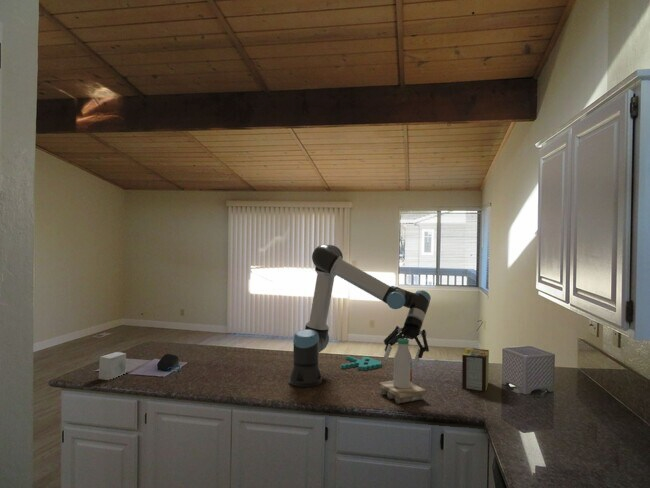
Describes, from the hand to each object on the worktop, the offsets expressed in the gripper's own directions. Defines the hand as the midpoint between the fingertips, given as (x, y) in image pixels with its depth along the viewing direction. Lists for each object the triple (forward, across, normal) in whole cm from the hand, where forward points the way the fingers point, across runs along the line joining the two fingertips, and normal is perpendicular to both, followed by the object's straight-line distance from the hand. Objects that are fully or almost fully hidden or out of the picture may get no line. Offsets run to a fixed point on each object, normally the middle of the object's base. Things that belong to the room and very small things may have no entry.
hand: (400, 361), depth 180 cm
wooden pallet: (+9, 0, -13) cm, 16 cm away
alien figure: (-14, +38, -37) cm, 54 cm away
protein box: (-15, -21, -38) cm, 46 cm away
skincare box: (+50, +123, +28) cm, 136 cm away
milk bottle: (+6, 0, -10) cm, 12 cm away
